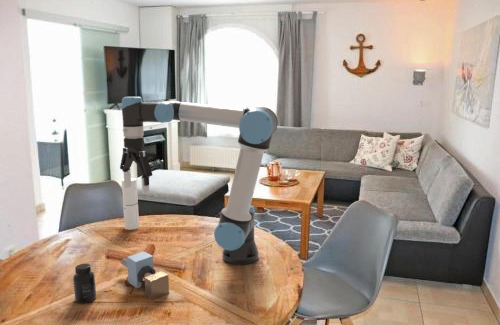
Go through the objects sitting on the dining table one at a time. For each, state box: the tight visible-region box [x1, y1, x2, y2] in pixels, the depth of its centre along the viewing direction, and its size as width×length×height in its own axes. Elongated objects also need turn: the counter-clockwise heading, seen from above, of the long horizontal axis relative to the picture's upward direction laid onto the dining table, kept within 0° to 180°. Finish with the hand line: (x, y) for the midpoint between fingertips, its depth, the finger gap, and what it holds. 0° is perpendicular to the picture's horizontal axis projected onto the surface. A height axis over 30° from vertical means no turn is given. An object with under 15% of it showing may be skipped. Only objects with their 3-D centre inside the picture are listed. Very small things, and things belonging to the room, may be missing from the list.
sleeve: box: [126, 251, 155, 289], centre depth 153 cm, size 6×7×10 cm
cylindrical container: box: [121, 177, 140, 231], centre depth 211 cm, size 7×7×25 cm
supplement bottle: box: [72, 263, 97, 304], centre depth 143 cm, size 7×7×12 cm
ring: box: [138, 266, 156, 286], centre depth 150 cm, size 2×6×6 cm, turn 135°
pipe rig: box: [120, 258, 170, 301], centre depth 153 cm, size 25×7×7 cm, turn 45°
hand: (136, 190), depth 166 cm, fingers open, 13 cm apart
